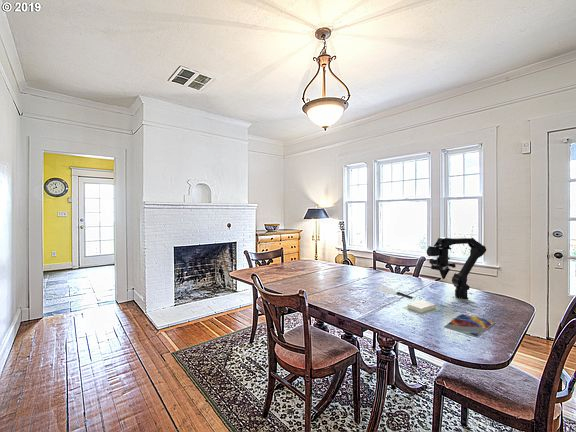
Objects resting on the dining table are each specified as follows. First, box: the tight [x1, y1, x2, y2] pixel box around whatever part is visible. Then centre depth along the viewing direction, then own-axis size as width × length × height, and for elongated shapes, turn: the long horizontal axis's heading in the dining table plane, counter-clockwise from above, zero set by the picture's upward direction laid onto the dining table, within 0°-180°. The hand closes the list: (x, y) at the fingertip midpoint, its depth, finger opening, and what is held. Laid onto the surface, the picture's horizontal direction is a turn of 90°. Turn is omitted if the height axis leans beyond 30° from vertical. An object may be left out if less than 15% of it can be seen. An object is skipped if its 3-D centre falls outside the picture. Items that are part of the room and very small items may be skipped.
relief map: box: [443, 313, 495, 338], centre depth 146 cm, size 25×15×2 cm, turn 129°
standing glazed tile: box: [407, 299, 437, 313], centre depth 170 cm, size 3×9×14 cm
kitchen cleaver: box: [375, 285, 413, 300], centre depth 202 cm, size 31×2×10 cm
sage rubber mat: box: [402, 305, 444, 316], centre depth 171 cm, size 20×14×1 cm
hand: (443, 278), depth 190 cm, fingers closed
